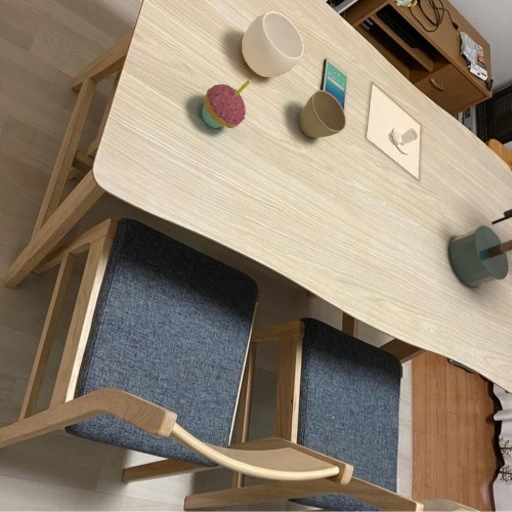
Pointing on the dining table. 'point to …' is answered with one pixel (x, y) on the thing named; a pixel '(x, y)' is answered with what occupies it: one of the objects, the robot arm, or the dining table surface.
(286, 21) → the cup
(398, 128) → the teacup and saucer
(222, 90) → the cupcake
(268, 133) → the dining table surface
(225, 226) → the dining table surface
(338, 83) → the smartphone
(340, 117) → the flower pot
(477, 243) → the lid
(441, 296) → the dining table surface
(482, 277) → the bowl
